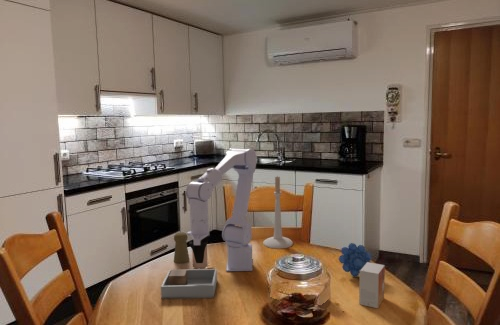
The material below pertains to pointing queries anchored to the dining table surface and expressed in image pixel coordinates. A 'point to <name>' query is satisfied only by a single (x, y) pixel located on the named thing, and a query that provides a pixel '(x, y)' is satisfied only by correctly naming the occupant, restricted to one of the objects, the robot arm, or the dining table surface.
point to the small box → (371, 284)
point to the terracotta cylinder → (205, 263)
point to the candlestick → (277, 224)
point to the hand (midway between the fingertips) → (200, 259)
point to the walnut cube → (178, 277)
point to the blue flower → (354, 258)
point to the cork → (181, 248)
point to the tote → (191, 285)
